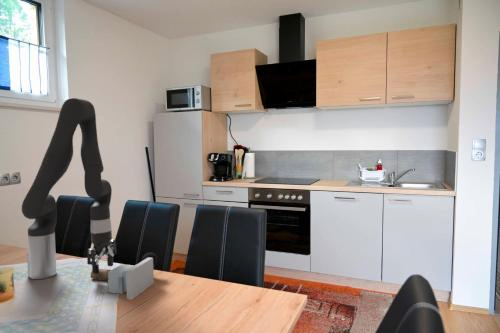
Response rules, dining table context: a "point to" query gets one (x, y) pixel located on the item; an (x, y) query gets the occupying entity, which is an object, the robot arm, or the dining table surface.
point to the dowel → (100, 274)
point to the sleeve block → (118, 279)
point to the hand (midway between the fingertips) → (103, 269)
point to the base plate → (139, 278)
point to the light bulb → (151, 255)
